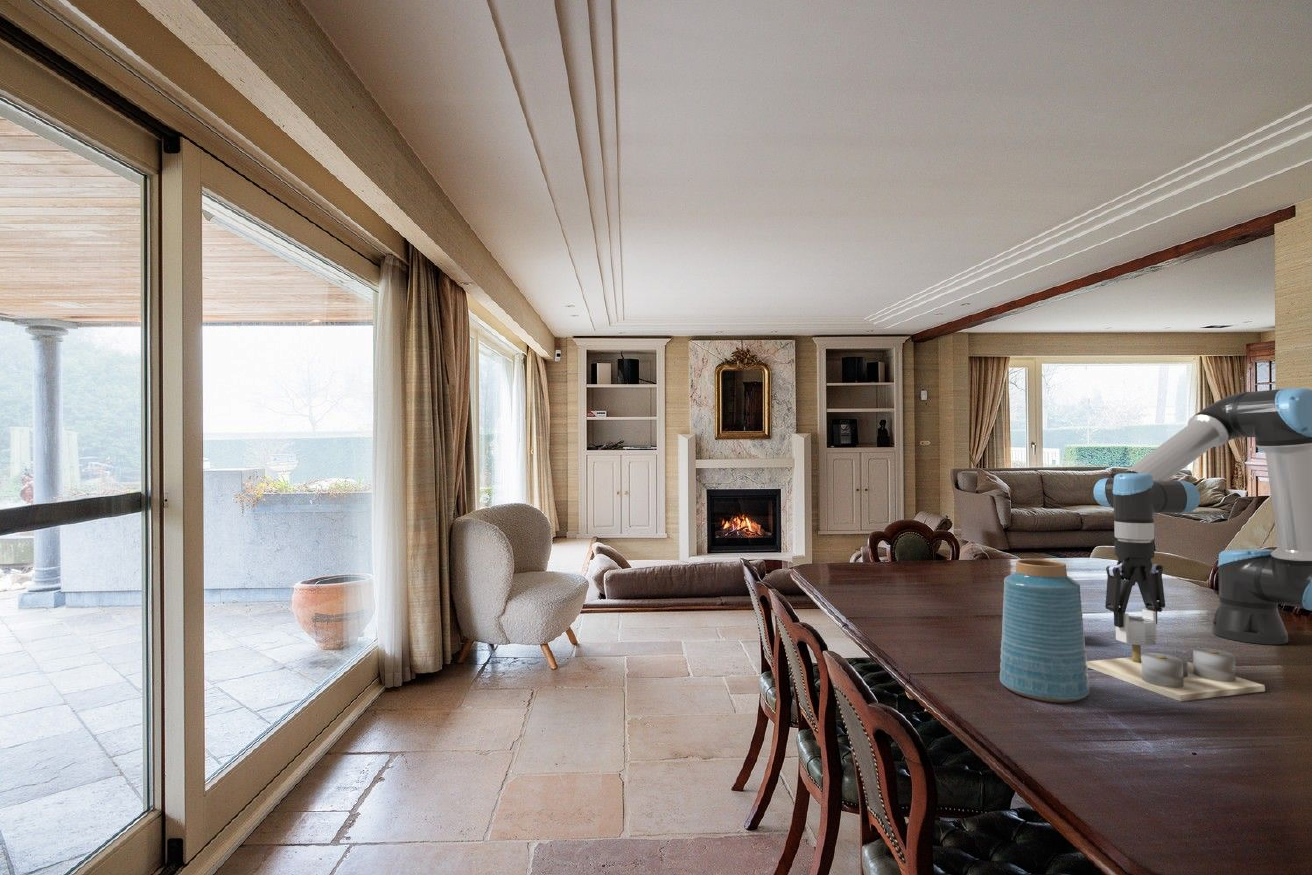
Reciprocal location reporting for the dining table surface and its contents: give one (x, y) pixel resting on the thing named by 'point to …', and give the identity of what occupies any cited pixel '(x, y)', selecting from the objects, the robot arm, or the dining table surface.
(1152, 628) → the octagonal tube
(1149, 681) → the carrier
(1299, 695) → the dining table surface
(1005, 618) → the vase
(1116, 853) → the dining table surface
